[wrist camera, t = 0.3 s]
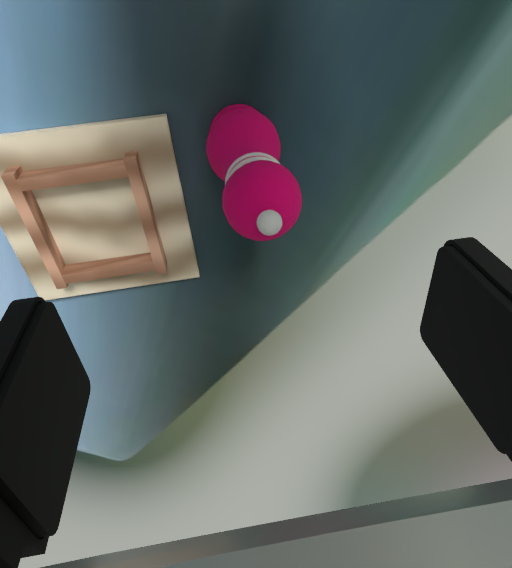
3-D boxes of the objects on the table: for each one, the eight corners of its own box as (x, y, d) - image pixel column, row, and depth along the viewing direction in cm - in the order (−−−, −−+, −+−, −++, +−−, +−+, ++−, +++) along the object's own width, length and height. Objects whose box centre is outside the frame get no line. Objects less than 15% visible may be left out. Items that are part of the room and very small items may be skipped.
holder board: (-40, 138, 39) (-55, 150, 37) (166, 113, 41) (165, 122, 38) (43, 295, 52) (36, 312, 49) (199, 272, 53) (200, 287, 51)
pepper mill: (234, 180, 46) (262, 288, 30) (189, 131, 42) (195, 227, 26) (285, 137, 44) (343, 230, 28) (242, 82, 40) (282, 154, 24)
